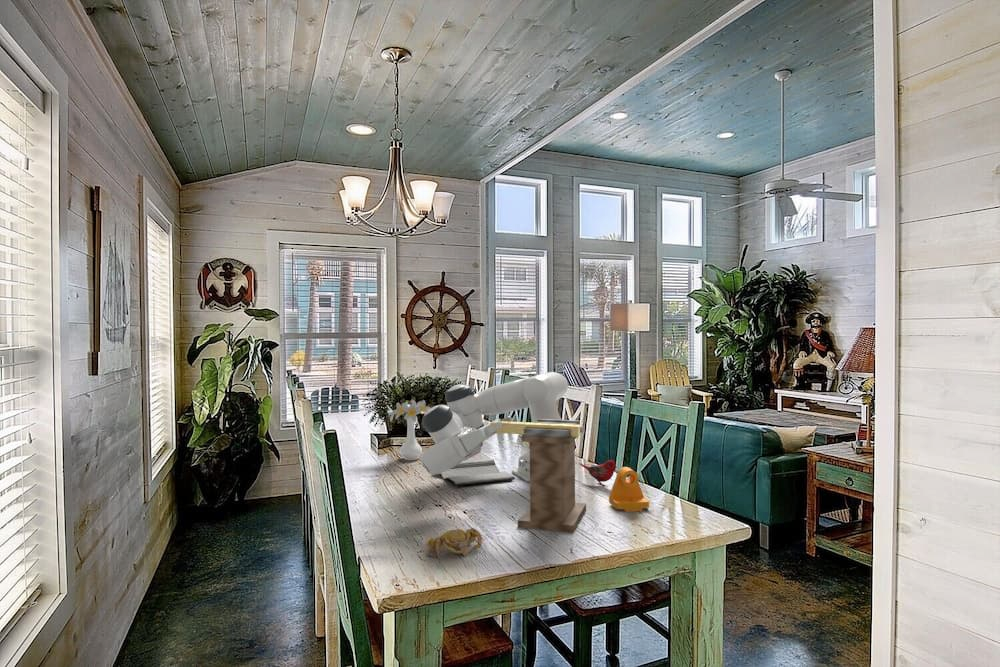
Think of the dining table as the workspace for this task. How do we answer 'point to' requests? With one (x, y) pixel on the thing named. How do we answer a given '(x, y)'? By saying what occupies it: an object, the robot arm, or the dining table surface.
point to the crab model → (455, 541)
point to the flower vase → (410, 426)
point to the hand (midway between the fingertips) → (506, 420)
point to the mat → (476, 472)
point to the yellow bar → (519, 427)
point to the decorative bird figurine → (601, 471)
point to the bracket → (627, 492)
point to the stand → (552, 479)
